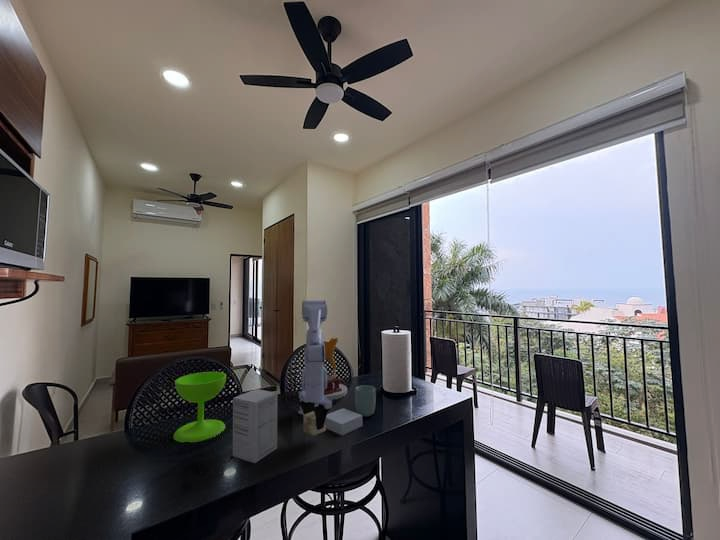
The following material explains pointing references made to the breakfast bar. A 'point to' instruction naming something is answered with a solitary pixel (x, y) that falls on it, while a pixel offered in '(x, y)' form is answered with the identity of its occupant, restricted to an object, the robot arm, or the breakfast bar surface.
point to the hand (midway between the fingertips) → (314, 425)
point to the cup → (365, 400)
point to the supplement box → (254, 425)
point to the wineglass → (200, 404)
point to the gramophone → (333, 386)
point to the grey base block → (343, 421)
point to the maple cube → (312, 424)
